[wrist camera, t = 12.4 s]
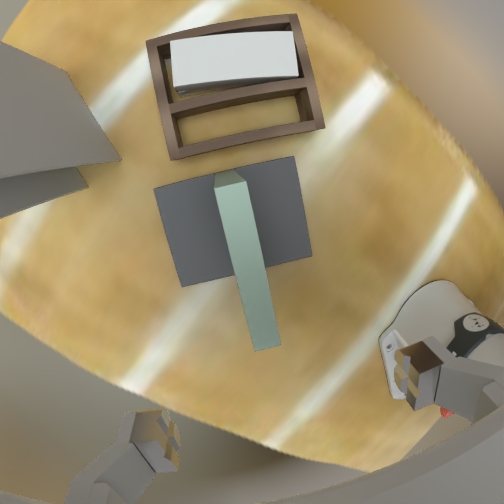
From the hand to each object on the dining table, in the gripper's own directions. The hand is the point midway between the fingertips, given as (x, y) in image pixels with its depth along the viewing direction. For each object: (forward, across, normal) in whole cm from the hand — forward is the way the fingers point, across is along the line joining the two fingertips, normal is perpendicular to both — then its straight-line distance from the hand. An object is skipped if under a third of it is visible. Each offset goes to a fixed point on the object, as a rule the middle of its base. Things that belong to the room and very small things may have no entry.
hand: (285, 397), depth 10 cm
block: (+28, 0, 0) cm, 28 cm away
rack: (+28, -3, -15) cm, 32 cm away
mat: (+28, 0, 0) cm, 28 cm away
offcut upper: (+26, -3, -17) cm, 31 cm away
